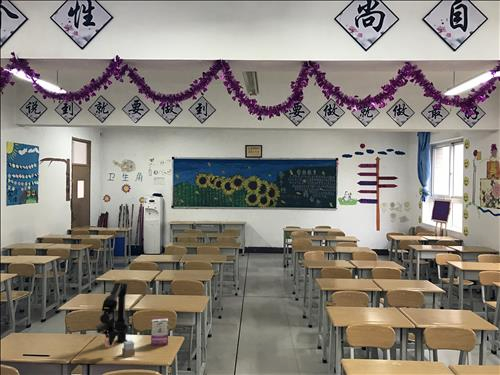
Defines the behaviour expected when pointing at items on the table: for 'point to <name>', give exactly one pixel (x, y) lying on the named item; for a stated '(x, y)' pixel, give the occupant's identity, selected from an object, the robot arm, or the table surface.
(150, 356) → the table surface
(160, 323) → the candy bar box
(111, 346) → the terracotta cube
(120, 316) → the robot arm
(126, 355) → the walnut base block
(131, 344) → the slate block
